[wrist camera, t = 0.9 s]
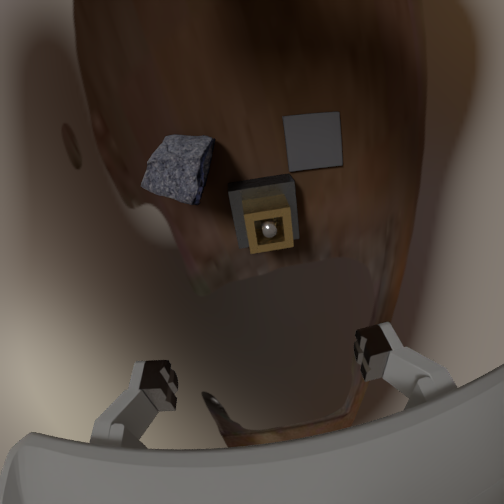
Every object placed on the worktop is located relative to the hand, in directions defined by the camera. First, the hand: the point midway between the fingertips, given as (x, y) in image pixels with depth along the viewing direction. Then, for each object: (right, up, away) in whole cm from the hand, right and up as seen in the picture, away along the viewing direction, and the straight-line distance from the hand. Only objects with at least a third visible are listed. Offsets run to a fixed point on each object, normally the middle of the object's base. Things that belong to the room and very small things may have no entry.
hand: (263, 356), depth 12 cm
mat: (+9, +22, +32) cm, 40 cm away
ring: (+2, +10, +34) cm, 36 cm away
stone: (-11, +19, +32) cm, 39 cm away
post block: (+1, +12, +38) cm, 40 cm away
